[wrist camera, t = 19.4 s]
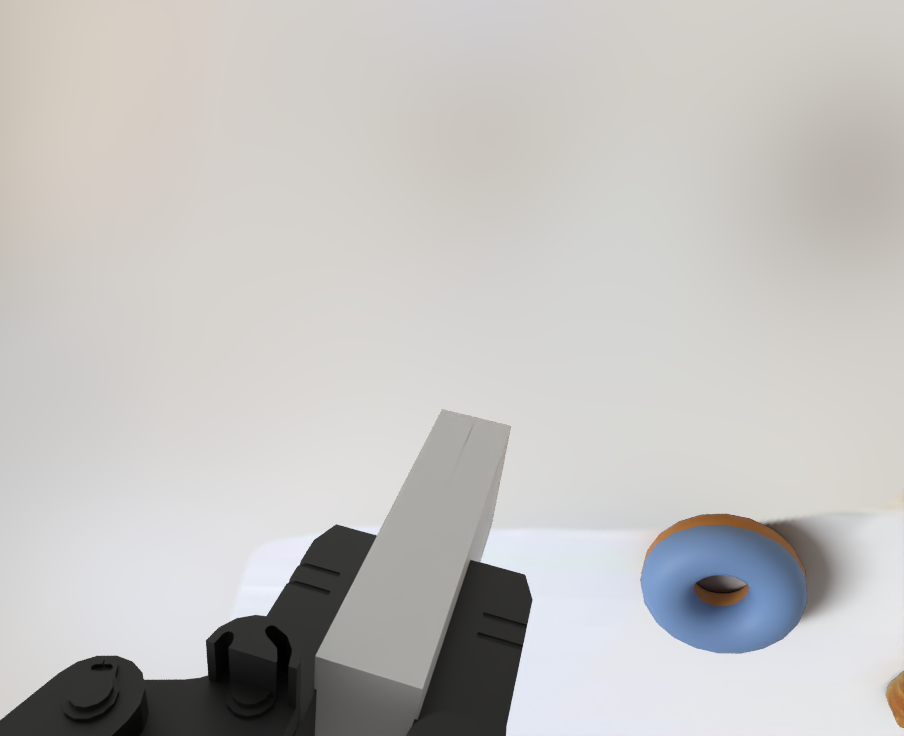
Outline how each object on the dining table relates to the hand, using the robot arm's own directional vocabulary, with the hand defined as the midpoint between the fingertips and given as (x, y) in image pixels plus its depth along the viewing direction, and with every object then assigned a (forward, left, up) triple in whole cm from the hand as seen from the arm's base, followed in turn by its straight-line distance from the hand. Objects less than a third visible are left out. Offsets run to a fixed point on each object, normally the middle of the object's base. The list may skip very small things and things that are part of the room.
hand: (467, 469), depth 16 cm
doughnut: (+23, +14, -27) cm, 38 cm away
